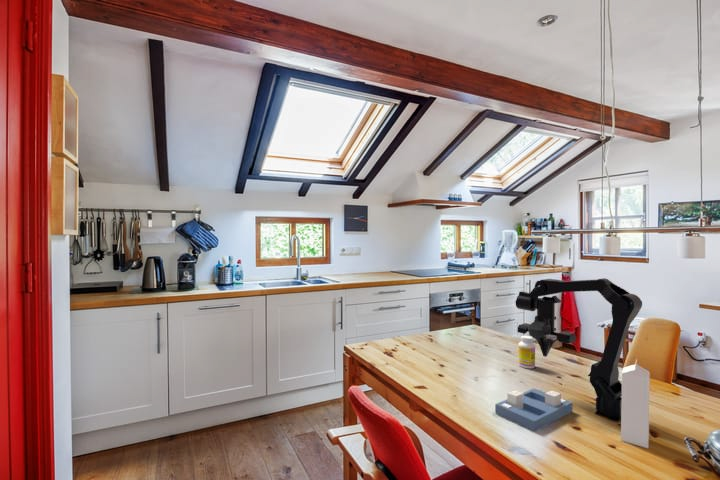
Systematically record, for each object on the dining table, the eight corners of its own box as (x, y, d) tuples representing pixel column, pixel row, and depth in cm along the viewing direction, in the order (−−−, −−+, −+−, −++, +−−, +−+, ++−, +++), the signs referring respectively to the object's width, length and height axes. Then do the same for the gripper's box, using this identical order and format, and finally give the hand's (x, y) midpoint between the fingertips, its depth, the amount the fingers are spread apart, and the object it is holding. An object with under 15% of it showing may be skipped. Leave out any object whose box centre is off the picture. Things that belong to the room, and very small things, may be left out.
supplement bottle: (533, 370, 154) (533, 340, 154) (516, 366, 158) (516, 337, 158) (536, 365, 160) (536, 336, 160) (520, 362, 164) (520, 334, 164)
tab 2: (560, 409, 117) (561, 393, 117) (554, 412, 115) (554, 396, 115) (551, 405, 119) (551, 390, 119) (544, 408, 117) (545, 393, 117)
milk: (648, 439, 102) (650, 361, 102) (648, 449, 97) (650, 366, 97) (622, 431, 106) (623, 356, 106) (620, 440, 101) (622, 361, 101)
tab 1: (523, 408, 117) (523, 393, 117) (515, 412, 115) (516, 396, 115) (514, 405, 119) (514, 390, 119) (507, 408, 117) (507, 392, 117)
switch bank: (572, 411, 118) (572, 401, 118) (534, 431, 106) (534, 420, 106) (534, 396, 129) (534, 387, 129) (495, 413, 116) (495, 403, 116)
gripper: (509, 311, 135) (509, 353, 135) (561, 321, 120) (561, 368, 120) (525, 308, 142) (525, 348, 142) (577, 317, 127) (576, 361, 127)
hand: (545, 356), depth 133 cm, fingers closed
